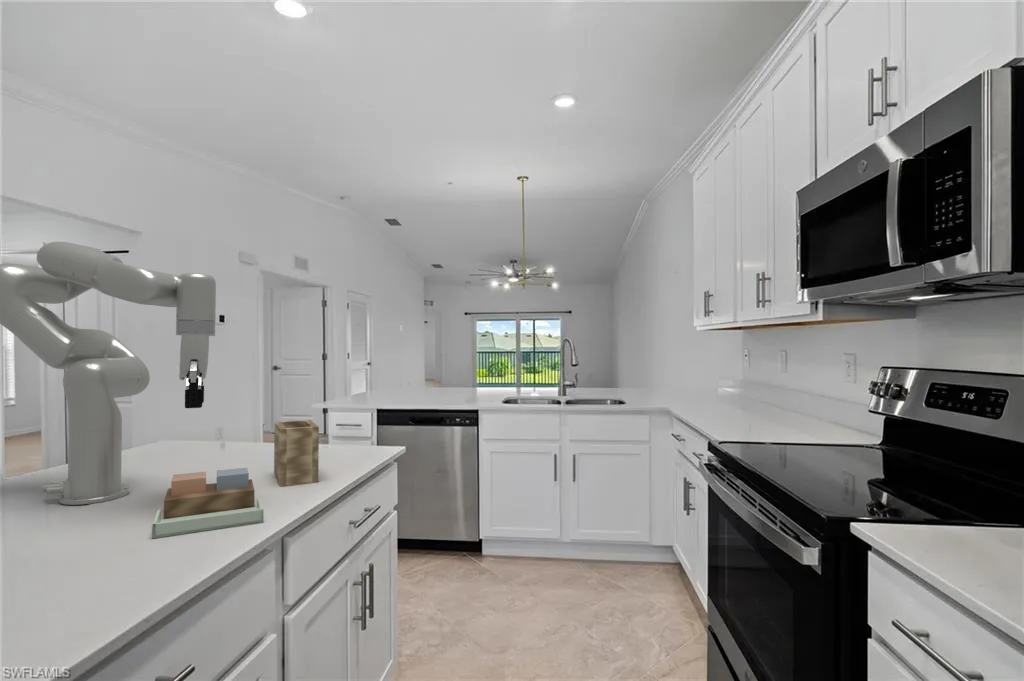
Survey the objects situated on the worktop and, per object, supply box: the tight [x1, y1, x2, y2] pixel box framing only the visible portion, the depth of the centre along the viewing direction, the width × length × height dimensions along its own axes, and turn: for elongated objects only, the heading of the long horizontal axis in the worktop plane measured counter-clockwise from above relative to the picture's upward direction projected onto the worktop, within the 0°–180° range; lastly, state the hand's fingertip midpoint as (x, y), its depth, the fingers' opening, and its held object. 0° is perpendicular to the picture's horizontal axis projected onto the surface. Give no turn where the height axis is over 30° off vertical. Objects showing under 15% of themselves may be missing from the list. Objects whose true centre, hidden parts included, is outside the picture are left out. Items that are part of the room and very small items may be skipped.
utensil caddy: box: [273, 419, 320, 488], centre depth 136 cm, size 9×14×14 cm, turn 30°
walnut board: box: [163, 478, 255, 519], centre depth 111 cm, size 16×10×4 cm, turn 120°
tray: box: [151, 496, 264, 539], centre depth 102 cm, size 18×10×2 cm, turn 120°
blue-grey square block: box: [216, 467, 250, 491], centre depth 114 cm, size 6×6×3 cm
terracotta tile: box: [170, 471, 207, 496], centre depth 110 cm, size 6×6×3 cm
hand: (194, 405), depth 117 cm, fingers open, 9 cm apart
